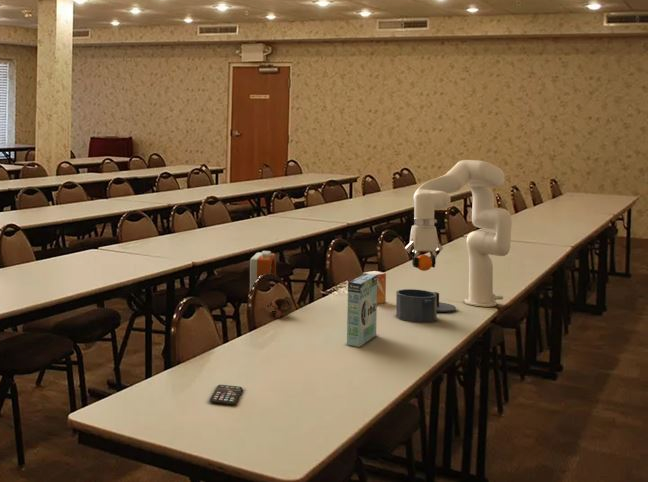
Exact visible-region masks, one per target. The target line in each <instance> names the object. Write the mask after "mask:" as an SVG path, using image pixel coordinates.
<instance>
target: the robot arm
mask: <svg viewBox="0 0 648 482" xmlns="http://www.w3.org/2000/svg"><path fill="white" fill-rule="evenodd" d="M505 181H506V176H505V173H504V171H503V170H502V169H501V168H500V167H498V166H496V165H495V164H493V163H490V162H489V161H485V160H478V159H477V160H475V159H462V160H459V161H458V162H457V163H455V164H454V166H452V167H451V168H450V169H449V170H448V171H447V172H446V173H445V174H444V175H441V176H437V177H435V178H433V179H430V180H427V181H425V182H423V183H422V184H421V185H420V186H419V187H418V188H417V189H416V190H415V191H414V194H413V198H412V199H413V203H414V205H413V207H414V209H413V210H414V211H413V215H414V216H413V225H411V229H410V235H409V243H408V244H407V245H406V246H405V247H404V249H405V250H406V252H407V253H408V254H409V255H410V256H411V257H412V259H411V263H412V267H413V268H416V269H418V258H417V257H418V256H419V254H420V252H429V254H430V255H429V257H430V258H431V260H432V266H431V268H436V262H437V261H436V258H437V257H438V255H439V254H440V252H442V250H443V249H444V247H443V245H441V244H440V243H439V241H438V240H439V239H438V232H437V227H436V226H435V225H436V224H437V223H438V220H437V219H435V210H445V209H447V208H449V206H450V205H451V200H452V199H451V196H450V194H453V193H456V192H459V191H461V189H462V188H464V187H465V185H467V186H468V188H469V189H470V192H471V194H472V195H471V197H472V207H471V223H472V225H473V226H474V227H476V228H479V229H486V230H491V231H492V230H494V231H495V232H490V231H482V230H474V231H471V232H469V233H468V234H467V236H466V248H467V252H468V298H465V299H464V303H465V304H466V305H468V306H475V307H484V308H488V307H489V308H490V307H496V306H497V300H499V301H500V300H504V296H503V295H502V294H498V295H497V294H495V293H494V292H493V291H494V289H493V286H494V285H493V283H494V279H493V277H494V276H493V275H494V264H493V261H492V258H491V257H490V256H497V257H505V256H507V255H508V254H509V253H510V249H511V242H512V241H511V240H512V238H511V237H512V223H513V222H512V221H513V219H512V215H511V213H510V211H508V210H507V209H505V208H501V207H495V195H494V192H493V191H492V189H491V188H493V189H496V188H500V187H502V186H503V185H504V183H505ZM489 255H490V256H489Z"/></svg>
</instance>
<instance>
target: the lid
mask: <svg viewBox="0 0 648 482" xmlns="http://www.w3.org/2000/svg"><path fill="white" fill-rule="evenodd" d="M432 292H433V293H435V294H436V295H437V313H449V312H454V311H456V310H457V306H455V305H453V304H451V303H447V302H441V301H440V293H439V292H437V291H432Z"/></svg>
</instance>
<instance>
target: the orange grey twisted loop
mask: <svg viewBox="0 0 648 482" xmlns="http://www.w3.org/2000/svg"><path fill="white" fill-rule="evenodd" d="M270 301H271V303H270V306H271V305H272V307H273V308H274V310H275V311H272V312H270V313H271V314H274V313H275V314H274V316H275V318H276V319H279V318H281V317H284V316H287V315H289V314H290V313H291V312H292V311H293V307H292V303H291V301H290V300H289V299H287V298H284V297H276V298H274V300H270ZM285 303H286V304H287V305H288V307H286V308H284V307H283V306H282V305H283V304H285Z"/></svg>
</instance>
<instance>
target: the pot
mask: <svg viewBox="0 0 648 482" xmlns="http://www.w3.org/2000/svg"><path fill="white" fill-rule="evenodd" d="M433 292H434V291H430V290H423V289H415V288H413V289H412V288H408V289H407V288H404V289H398V290H397V291H396V292H395V295H396V297H395V298H396V299H395V300H396V302H395V304H396V305H395V309H396V310H395V314H396V318H397V319H399V320H402V321H404V322H405V321H406V322H412V323H425V324H426V323H433V322H436V321H437V319H438V317H437V316H438V314H437V313H438V312H437V295H436V294H435V293H433Z"/></svg>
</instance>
